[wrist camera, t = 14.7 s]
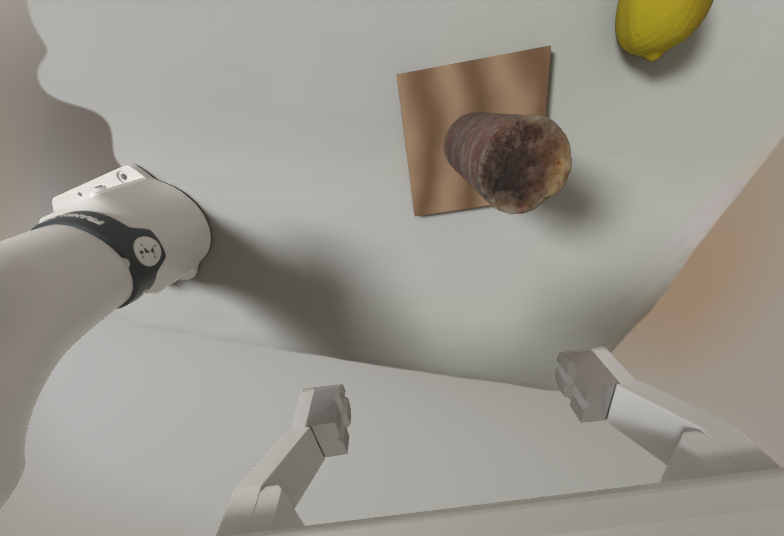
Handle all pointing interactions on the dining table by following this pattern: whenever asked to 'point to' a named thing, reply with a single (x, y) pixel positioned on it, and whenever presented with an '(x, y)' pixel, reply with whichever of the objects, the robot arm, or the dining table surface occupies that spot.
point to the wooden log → (509, 158)
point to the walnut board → (454, 99)
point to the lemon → (657, 24)
